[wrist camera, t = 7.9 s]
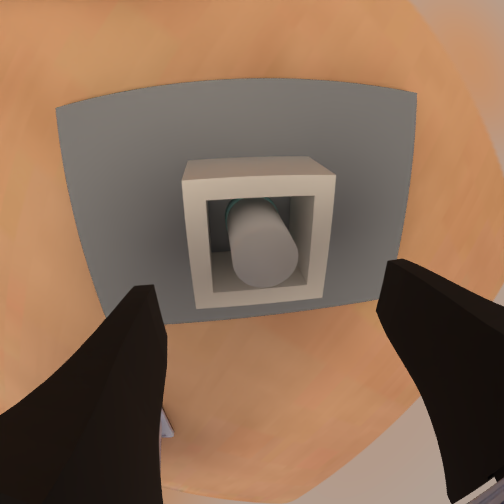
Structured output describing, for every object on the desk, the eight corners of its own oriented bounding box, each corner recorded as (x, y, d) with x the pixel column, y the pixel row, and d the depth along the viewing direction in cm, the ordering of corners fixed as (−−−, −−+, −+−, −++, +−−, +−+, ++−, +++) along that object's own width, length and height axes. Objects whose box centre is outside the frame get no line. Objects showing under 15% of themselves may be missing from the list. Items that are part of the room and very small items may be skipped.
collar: (197, 266, 16) (196, 308, 13) (188, 160, 13) (181, 180, 10) (301, 259, 17) (322, 297, 14) (308, 156, 14) (335, 175, 11)
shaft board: (112, 316, 18) (93, 382, 13) (64, 106, 12) (2, 118, 7) (380, 289, 20) (420, 342, 15) (406, 91, 14) (476, 101, 9)
